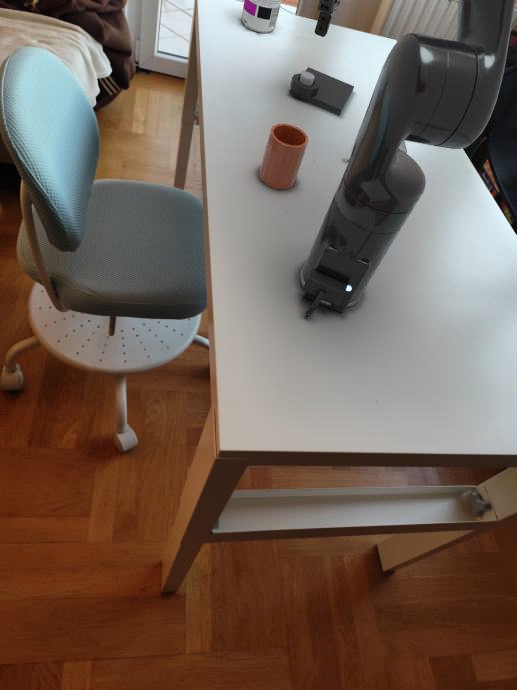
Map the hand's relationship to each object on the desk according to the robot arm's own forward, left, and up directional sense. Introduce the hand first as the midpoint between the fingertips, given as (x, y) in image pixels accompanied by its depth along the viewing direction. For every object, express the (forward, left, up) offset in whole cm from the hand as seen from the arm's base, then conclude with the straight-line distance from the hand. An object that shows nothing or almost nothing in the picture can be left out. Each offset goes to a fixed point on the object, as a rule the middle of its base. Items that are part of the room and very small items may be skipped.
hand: (320, 34), depth 92 cm
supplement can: (+23, +18, -12) cm, 32 cm away
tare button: (0, 0, -9) cm, 9 cm away
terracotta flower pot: (-30, -5, -12) cm, 33 cm away
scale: (+4, -4, -12) cm, 13 cm away
